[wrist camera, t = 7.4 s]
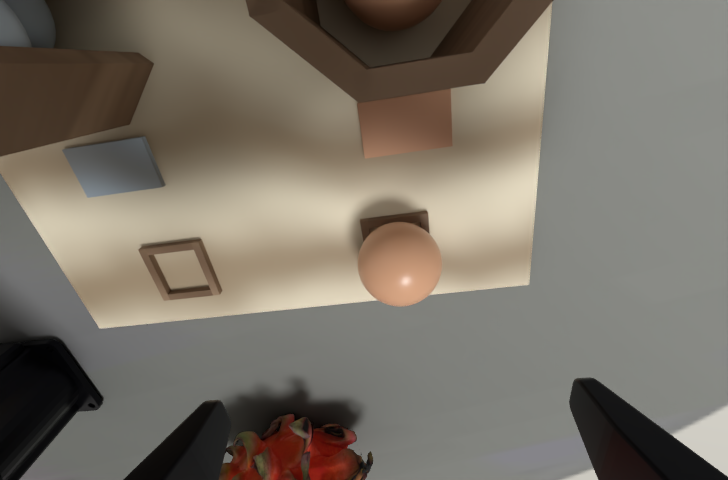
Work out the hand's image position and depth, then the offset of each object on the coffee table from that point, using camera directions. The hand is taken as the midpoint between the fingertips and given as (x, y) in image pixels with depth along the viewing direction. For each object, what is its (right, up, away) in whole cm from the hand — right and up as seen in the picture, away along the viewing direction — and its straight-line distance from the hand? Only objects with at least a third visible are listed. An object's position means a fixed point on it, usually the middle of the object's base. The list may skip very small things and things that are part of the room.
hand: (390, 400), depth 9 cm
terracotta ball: (+1, +4, +9) cm, 10 cm away
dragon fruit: (-6, -11, +18) cm, 21 cm away
